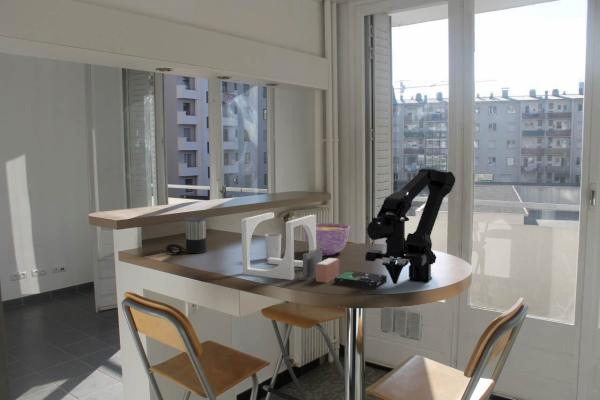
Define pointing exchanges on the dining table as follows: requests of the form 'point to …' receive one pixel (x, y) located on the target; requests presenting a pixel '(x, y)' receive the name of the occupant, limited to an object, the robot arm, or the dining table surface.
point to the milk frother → (192, 237)
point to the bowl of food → (330, 237)
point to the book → (327, 270)
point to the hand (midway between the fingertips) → (395, 283)
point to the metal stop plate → (310, 264)
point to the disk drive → (360, 279)
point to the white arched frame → (287, 263)
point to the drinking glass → (273, 245)
